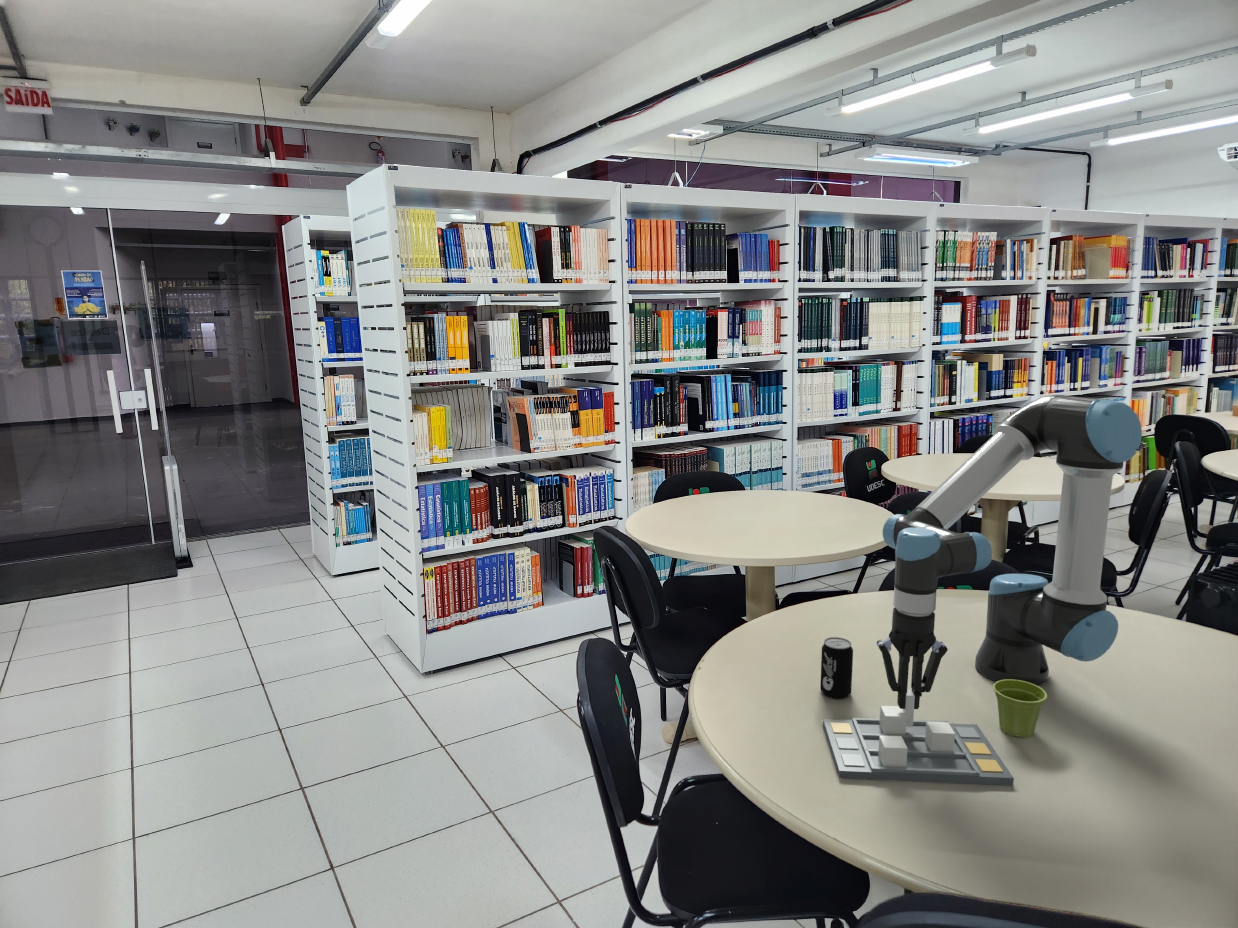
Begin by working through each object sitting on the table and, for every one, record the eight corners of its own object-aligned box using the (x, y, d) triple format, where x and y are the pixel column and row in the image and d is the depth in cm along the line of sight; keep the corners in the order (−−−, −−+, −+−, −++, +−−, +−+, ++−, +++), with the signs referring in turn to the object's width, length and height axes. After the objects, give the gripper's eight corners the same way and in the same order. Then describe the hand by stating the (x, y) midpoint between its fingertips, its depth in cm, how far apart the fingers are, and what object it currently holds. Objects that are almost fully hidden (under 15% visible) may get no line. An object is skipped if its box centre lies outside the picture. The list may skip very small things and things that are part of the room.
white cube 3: (900, 755, 142) (901, 736, 141) (906, 768, 138) (907, 748, 137) (878, 754, 142) (879, 735, 141) (883, 767, 138) (884, 747, 137)
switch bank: (976, 731, 152) (977, 721, 152) (1013, 785, 135) (1014, 774, 134) (822, 725, 155) (823, 716, 155) (839, 778, 138) (839, 767, 137)
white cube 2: (946, 741, 146) (948, 722, 145) (953, 753, 142) (955, 733, 141) (925, 740, 146) (926, 721, 146) (931, 752, 142) (932, 732, 142)
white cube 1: (900, 724, 152) (901, 706, 151) (905, 735, 148) (906, 716, 148) (879, 723, 153) (880, 705, 152) (884, 734, 149) (885, 715, 148)
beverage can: (852, 701, 165) (854, 649, 162) (821, 699, 166) (822, 647, 164) (849, 687, 171) (851, 637, 169) (819, 685, 172) (821, 635, 170)
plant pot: (1022, 747, 146) (1026, 706, 145) (979, 725, 155) (983, 685, 153) (1053, 735, 151) (1057, 694, 149) (1010, 713, 159) (1013, 675, 157)
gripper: (943, 602, 148) (935, 714, 153) (874, 601, 150) (868, 712, 154) (956, 617, 141) (947, 734, 146) (883, 616, 142) (877, 731, 147)
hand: (907, 722), depth 150 cm, fingers closed
